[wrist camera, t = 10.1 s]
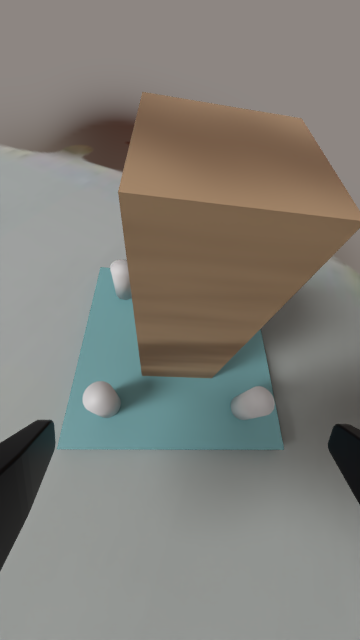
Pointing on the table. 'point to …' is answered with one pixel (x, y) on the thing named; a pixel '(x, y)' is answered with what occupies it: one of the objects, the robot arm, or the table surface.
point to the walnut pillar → (221, 227)
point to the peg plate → (161, 390)
